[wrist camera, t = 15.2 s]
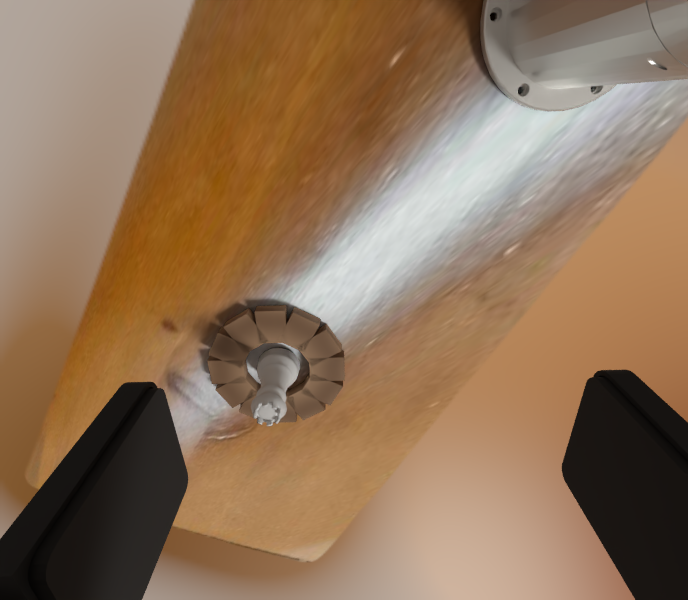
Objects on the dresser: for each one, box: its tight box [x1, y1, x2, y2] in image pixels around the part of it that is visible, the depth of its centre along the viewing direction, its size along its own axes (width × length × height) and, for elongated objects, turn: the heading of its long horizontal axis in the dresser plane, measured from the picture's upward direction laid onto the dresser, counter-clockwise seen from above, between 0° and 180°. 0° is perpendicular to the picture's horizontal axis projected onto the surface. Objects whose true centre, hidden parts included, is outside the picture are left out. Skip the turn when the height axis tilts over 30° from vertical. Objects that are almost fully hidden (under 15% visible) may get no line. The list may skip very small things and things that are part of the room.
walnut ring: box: [207, 305, 345, 423], centre depth 42 cm, size 14×14×1 cm
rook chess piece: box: [251, 348, 300, 426], centre depth 39 cm, size 4×4×8 cm
